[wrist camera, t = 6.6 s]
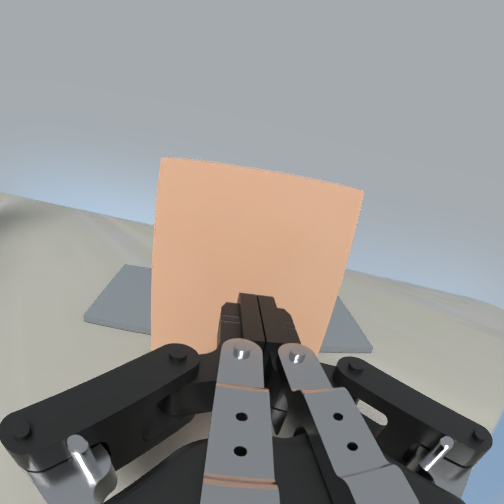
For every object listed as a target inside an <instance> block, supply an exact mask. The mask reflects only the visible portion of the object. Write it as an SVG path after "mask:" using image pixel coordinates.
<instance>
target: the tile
mask: <svg viewBox="0 0 504 504" xmlns="http://www.w3.org/2000/svg"><path fill="white" fill-rule="evenodd" d="M157 191H158V192H157V200H156V211H155V223H154V237H153V254H152V278H151V351H153V350H155V349H157V348H159V347H161V346H163V345H166V344H171V343H180V344H185V345H188V346H190V347H192V348H193V349H195V350H196V351H197V353H198V354H206V353H210V352H212V351H214V350H216V349H217V334H218V327H219V320H220V313H221V307H222V306H223V305H224V304H225V303H226V302H231V303H237V300H238V295H239V292H240V293H248V294H256V295H264V296H272V297H274V299H275V303H276V306H277V308H283V309H285V310H286V311H287V312H288V313H289V314H290V315H291V317H292V320H293V323H294V325H295V329H296V331H297V334H298V336H299V339H300V342H301V345H304V346H306V347H308V348H310V349H311V350H312V351H313V352H314V353H315V355H316V356H318V353H319V350H320V348H321V345H322V342H323V339H324V336H325V333H326V330H327V327H328V324H329V321H330V318H331V315H332V312H333V308H334V305H335V302H336V299H337V295H338V292H339V289H340V285H341V282H342V278H343V275H344V271H345V268H346V264H347V261H348V257H349V253H350V249H351V246H352V242H353V238H354V234H355V230H356V226H357V221H358V217H359V213H360V208H361V203H362V199H363V195H364V191H362V190H359V189H356V188H353V187H350V186H347V185H343V184H338V183H334V182H329V181H325V180H320V179H315V178H310V177H305V176H300V175H294V174H289V173H284V172H278V171H273V170H267V169H261V168H254V167H248V166H241V165H235V164H229V163H221V162H214V161H206V160H198V159H189V158H180V157H162V158H161V165H160V172H159V181H158V190H157Z"/></svg>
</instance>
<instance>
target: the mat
mask: <svg viewBox="0 0 504 504" xmlns="http://www.w3.org/2000/svg"><path fill="white" fill-rule="evenodd" d="M151 278H152V268H145V267H138V266H132V265H124V266H123V268H122V269H121V270H120V271H119V272H118V273H117V275H116V276H115V277H114V278H113V279H112V281H111V282H110V283H109V284H108V285H107V287H106V288H105V289H104V290H103V291H102V293H101V294H100V295H99V296H98V298H97V299H96V300H95V301H94V303H93V304H92V305H91V306H90V308H89V309H88V310H87V311H86V313H85V314H84V315H83V316H84V321H86V322H90V323H95V324H99V325H104V326H108V327H113V328H118V329H123V330H128V331H134V332H139V333H145V334H150V335H151ZM372 349H373V347H372V345H371V344H370V342H369V341H368V339H367V338H366V336H365V335H364V333H363V332H362V330H361V329H360V327H359V326H358V324H357V323H356V321H355V320H354V318H353V317H352V315H351V314H350V312H349V311H348V310H347V308H346V307H345V305H344V304H343V302H342V301H341V299H340V298H339V296H338V295H337V299H336V302H335V305H334V308H333V312H332V315H331V318H330V321H329V324H328V327H327V330H326V333H325V336H324V339H323V342H322V345H321V348H320V350H319V352H342V353H371V351H372Z"/></svg>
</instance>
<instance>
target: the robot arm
mask: <svg viewBox="0 0 504 504" xmlns="http://www.w3.org/2000/svg"><path fill="white" fill-rule="evenodd" d="M359 400H362V401H364V402H365V403H367V404H368V405H370V406H372V407H373V408H375V409H377V410H378V411H380V412H381V413H383V414H384V415H385V416H386V417H387V419H388V423H387V425H380V424H378V423H376V422H375V421H373V420H371V419H370V418H368V417H367V416H365V415H363V414H362V413H360V412H359V410H358V408H357V406H356V405H357V403H358V401H359ZM211 411H212V415H211V422H210V430H209V437H208V438H207V439H203V440H198V441H195V442H192V443H189V444H187V445H185V446H183V447H181V448H179V449H178V450H176V451H175V452H173V453H172V454H171V455H170V456H168V457H167V458H166V459H164V460H163V461H162V462H161V463H159V464H158V465H157V466H155V467H154V468H153V469H151V470H150V471H149V472H147V473H146V474H145V475H143V476H142V477H141V478H139V479H138V480H136V481H135V482H134V483H132V484H131V485H129V486H128V487H126V488H125V489H124V490H122V491H121V492H119V493H118V494H116V495H115V496H113V497H112V498H110V499H109V500H107V501H106V502H104V500H105V498H106V497H107V496H108V495H109V494H110V493H111V492H112V491H113V490H114V489H115V487H116V485H117V474H116V472H115V471H117V470H118V469H120V468H122V467H123V466H125V465H126V464H128V463H130V462H131V461H133V460H134V459H136V458H138V457H139V456H141V455H142V454H144V453H145V452H147V451H148V450H150V449H151V448H153V447H154V446H156V445H157V444H159V443H160V442H162V441H163V440H165V439H166V438H167V437H169V436H170V435H172V434H173V433H175V432H176V431H177V430H179V429H180V428H182V427H183V426H184V425H186V424H187V423H189V422H190V421H191V420H192V419H193V417H194V414H197V413H204V412H211ZM0 440H1V442H2V444H3V445H4V447H5V448H6V450H7V451H8V452H9V454H10V455H11V456H12V458H13V459H14V460H15V462H16V463H17V464H18V465H19V467H20V468H21V469H22V470H23V472H24V473H25V474H26V475H27V476H28V478H29V479H30V480H31V481H32V482H33V483H34V485H35V486H36V487H37V489H38V490H39V492H40V493H41V495H42V496H43V498H44V499H45V500H46V502H47V503H48V504H465V503H464V501H462V500H461V496H462V494H463V491H464V489H465V486H466V484H467V481H468V478H469V475H470V472H471V469H472V468H473V467H474V466H475V465H476V464H477V462H478V461H479V460H480V459H481V458H482V457H483V455H484V454H485V453H486V452H487V451H488V450H489V449H490V448H491V446H492V437H491V434H490V433H489V431H488V430H487V429H486V428H484V427H483V426H481V425H479V424H477V423H475V422H474V421H472V420H470V419H468V418H466V417H464V416H462V415H460V414H458V413H456V412H455V411H453V410H451V409H449V408H447V407H445V406H443V405H442V404H440V403H438V402H436V401H434V400H432V399H431V398H429V397H427V396H425V395H423V394H422V393H420V392H418V391H416V390H414V389H413V388H411V387H409V386H407V385H405V384H404V383H402V382H400V381H398V380H397V379H395V378H393V377H391V376H390V375H388V374H386V373H384V372H383V371H381V370H379V369H377V368H376V367H374V366H372V365H371V364H369V363H367V362H365V361H364V360H362V359H359V358H356V357H343V358H341V359H340V360H339V361H338V363H337V365H336V366H332V365H328V364H324V363H320V362H319V360H318V358H317V356H316V355H315V353H314V352H313V351H312V350H311V349H310V348H308V347H306V346H304V345H301V342H300V339H299V336H298V334H297V331H296V329H295V325H294V323H293V320H292V317H291V315H290V314H289V313H288V312H287V311H286V310H285V309H283V308H277V306H276V303H275V299H274V297H272V296H264V295H256V294H248V293H240V292H239V295H238V300H237V303H231V302H226V303H225V304H224V305H223V306H222V307H221V313H220V320H219V327H218V334H217V349H216V350H214V351H212V352H210V353H206V354H198V353H197V351H196V350H195V349H193V348H192V347H190V346H188V345H185V344H180V343H171V344H166V345H163V346H161V347H159V348H157V349H155V350H153V351H151V352H149V353H147V354H145V355H143V356H141V357H139V358H136V359H134V360H132V361H130V362H128V363H126V364H124V365H122V366H119V367H117V368H115V369H113V370H111V371H109V372H107V373H104V374H102V375H100V376H98V377H96V378H93V379H91V380H89V381H87V382H84V383H82V384H80V385H78V386H75V387H73V388H71V389H68V390H66V391H64V392H62V393H59V394H57V395H55V396H52V397H50V398H47V399H45V400H43V401H40V402H38V403H35V404H33V405H30V406H28V407H26V408H23V409H21V410H18V411H16V412H13V413H11V414H9V415H7V416H6V417H5V418H4V419H3V420H2V422H1V424H0Z"/></svg>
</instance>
